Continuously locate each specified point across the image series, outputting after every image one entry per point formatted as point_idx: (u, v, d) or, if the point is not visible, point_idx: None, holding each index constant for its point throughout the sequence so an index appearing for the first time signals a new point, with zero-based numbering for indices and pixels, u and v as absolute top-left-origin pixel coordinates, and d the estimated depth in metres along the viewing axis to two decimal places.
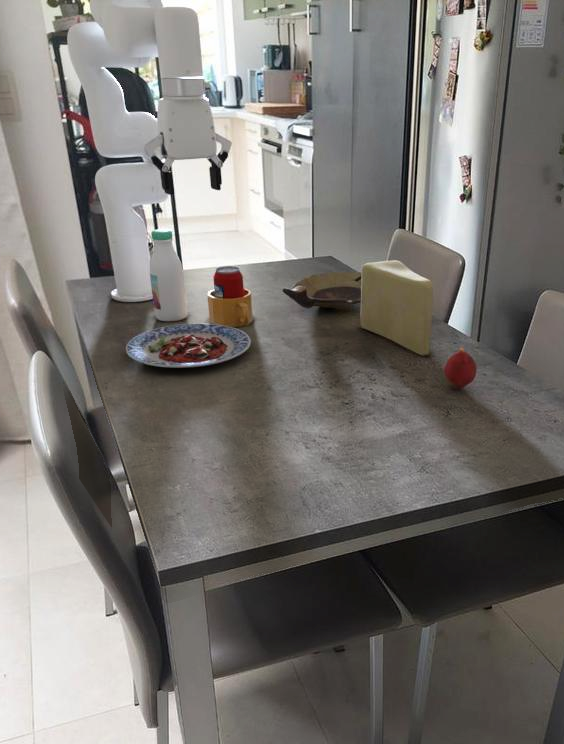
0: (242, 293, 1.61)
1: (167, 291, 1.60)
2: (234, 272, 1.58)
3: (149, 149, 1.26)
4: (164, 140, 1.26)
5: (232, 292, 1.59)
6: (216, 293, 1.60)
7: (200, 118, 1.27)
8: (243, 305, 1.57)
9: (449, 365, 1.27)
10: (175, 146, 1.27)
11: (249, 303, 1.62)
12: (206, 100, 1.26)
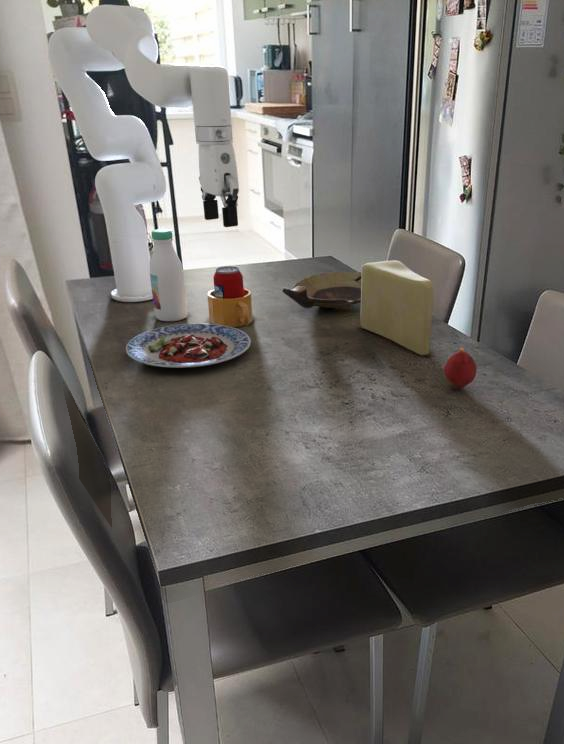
0: (242, 293, 1.61)
1: (167, 291, 1.60)
2: (234, 272, 1.58)
3: (200, 179, 1.53)
4: None
5: (232, 292, 1.59)
6: (216, 293, 1.60)
7: (208, 161, 1.43)
8: (243, 305, 1.57)
9: (449, 365, 1.27)
10: (201, 180, 1.49)
11: (249, 303, 1.62)
12: (212, 146, 1.40)
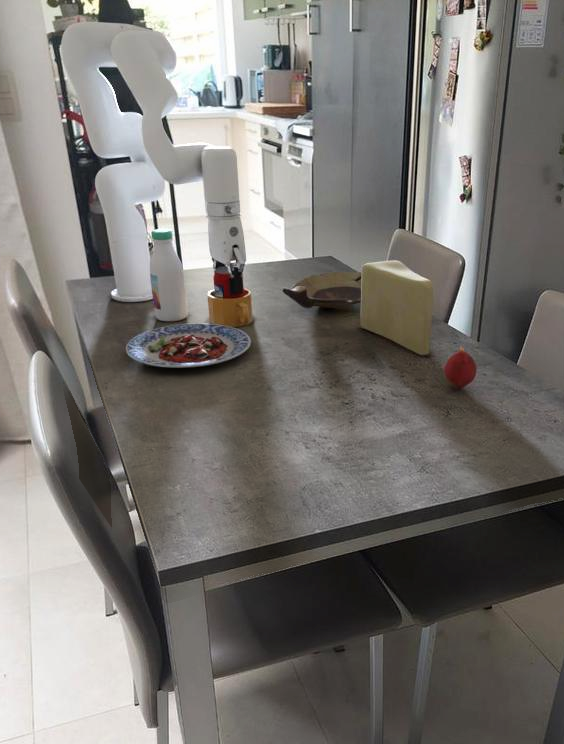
0: (242, 293, 1.61)
1: (167, 291, 1.60)
2: None
3: None
4: None
5: None
6: (216, 293, 1.60)
7: (218, 233, 1.52)
8: (243, 305, 1.57)
9: (449, 365, 1.27)
10: (210, 249, 1.58)
11: (249, 303, 1.62)
12: (221, 221, 1.50)
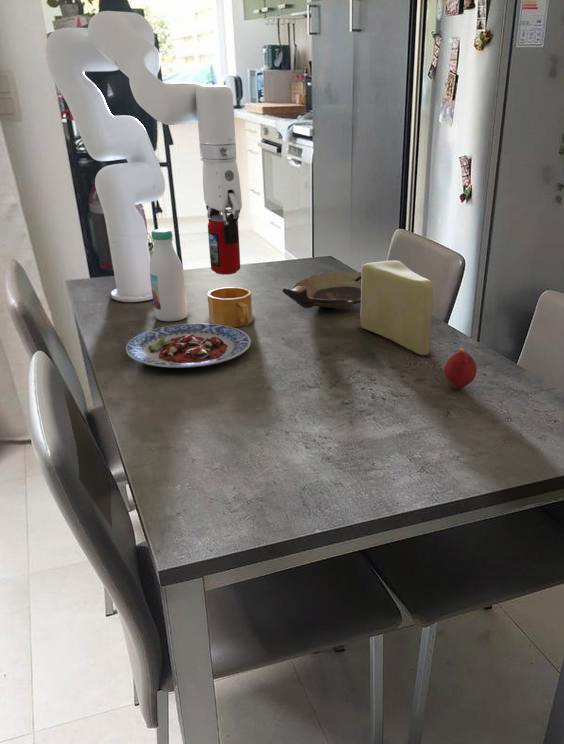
0: (237, 243, 1.55)
1: (167, 291, 1.60)
2: None
3: None
4: None
5: None
6: (210, 242, 1.54)
7: (212, 177, 1.47)
8: (243, 305, 1.57)
9: (449, 365, 1.27)
10: (205, 195, 1.53)
11: (249, 303, 1.62)
12: (216, 163, 1.44)
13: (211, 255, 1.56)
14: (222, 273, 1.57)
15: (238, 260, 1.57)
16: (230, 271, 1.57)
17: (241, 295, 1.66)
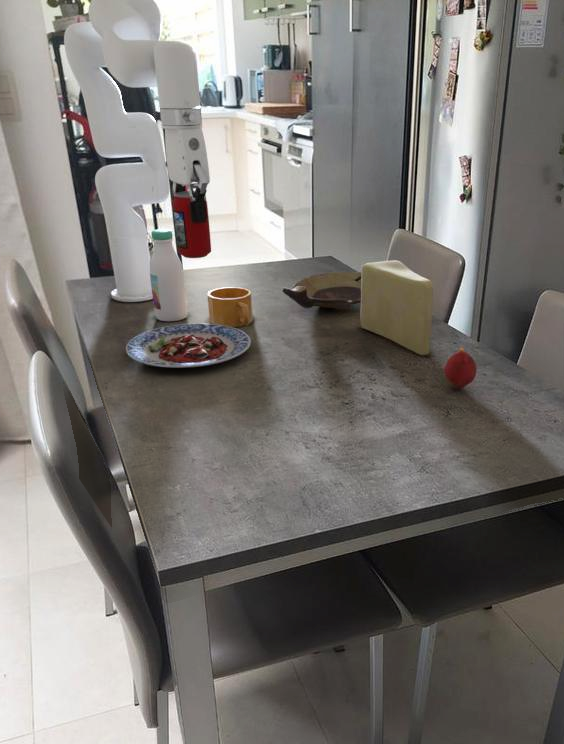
0: (207, 222, 1.39)
1: (167, 291, 1.60)
2: None
3: None
4: None
5: None
6: (176, 221, 1.37)
7: (175, 147, 1.30)
8: (243, 305, 1.57)
9: (449, 365, 1.27)
10: (169, 169, 1.36)
11: (249, 303, 1.62)
12: (179, 130, 1.27)
13: (178, 236, 1.39)
14: (190, 256, 1.40)
15: (208, 242, 1.40)
16: (199, 254, 1.40)
17: (241, 295, 1.66)
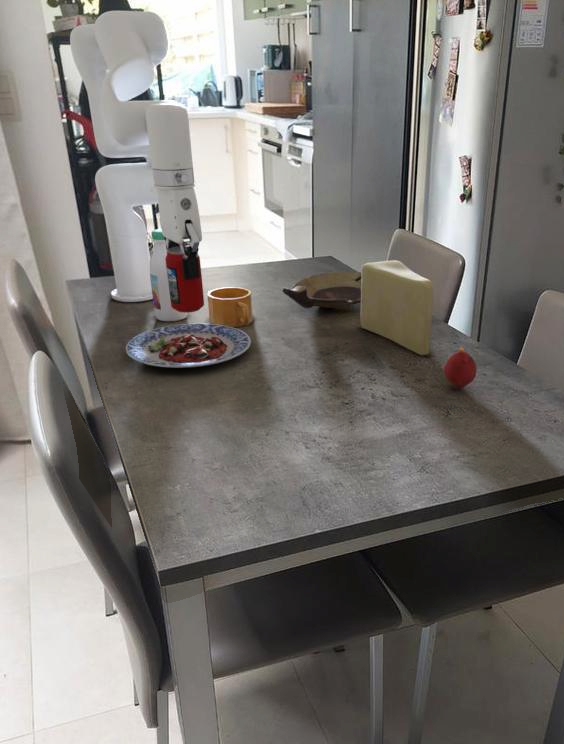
0: (199, 277, 1.39)
1: (167, 291, 1.60)
2: None
3: None
4: None
5: None
6: (169, 277, 1.38)
7: (168, 206, 1.30)
8: (243, 305, 1.57)
9: (449, 365, 1.27)
10: (161, 226, 1.36)
11: (249, 303, 1.62)
12: (171, 191, 1.28)
13: (171, 292, 1.39)
14: (183, 311, 1.41)
15: (201, 296, 1.41)
16: (192, 309, 1.40)
17: (241, 295, 1.66)
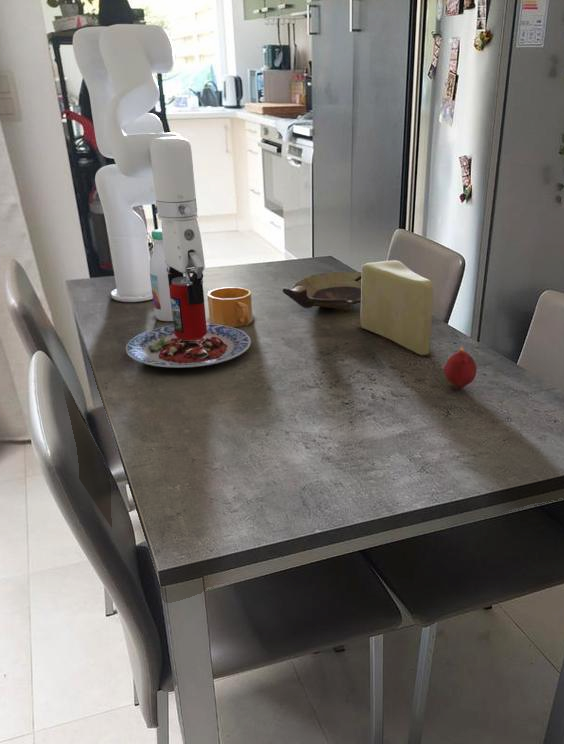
0: (202, 307, 1.42)
1: (167, 291, 1.60)
2: None
3: None
4: None
5: (191, 306, 1.40)
6: (172, 307, 1.41)
7: (171, 237, 1.33)
8: (243, 305, 1.57)
9: (449, 365, 1.27)
10: (165, 254, 1.39)
11: (249, 303, 1.62)
12: (175, 222, 1.31)
13: (174, 321, 1.42)
14: (186, 339, 1.44)
15: (204, 325, 1.44)
16: (195, 337, 1.43)
17: (241, 295, 1.66)
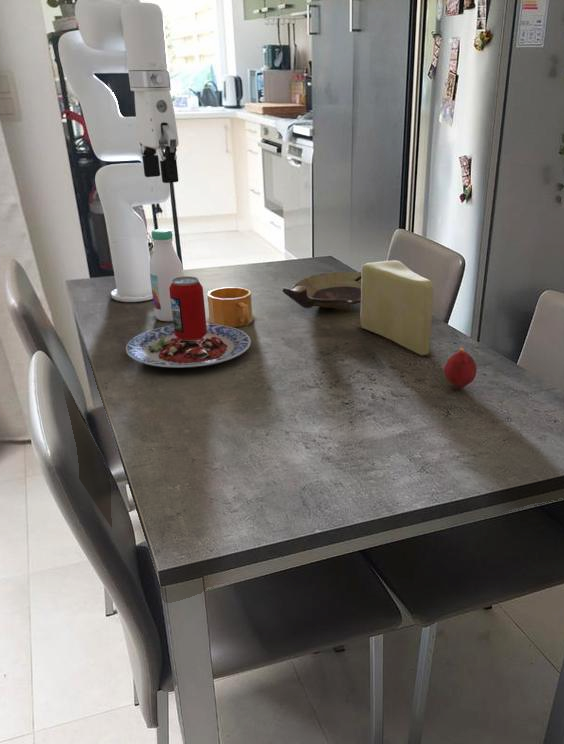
0: (202, 307, 1.42)
1: (167, 291, 1.60)
2: (192, 283, 1.39)
3: None
4: None
5: (191, 306, 1.40)
6: (172, 307, 1.41)
7: (144, 109, 1.32)
8: (243, 305, 1.57)
9: (449, 365, 1.27)
10: (139, 133, 1.38)
11: (249, 303, 1.62)
12: (147, 92, 1.29)
13: (174, 321, 1.42)
14: (186, 339, 1.44)
15: (204, 325, 1.44)
16: (195, 337, 1.43)
17: (241, 295, 1.66)
